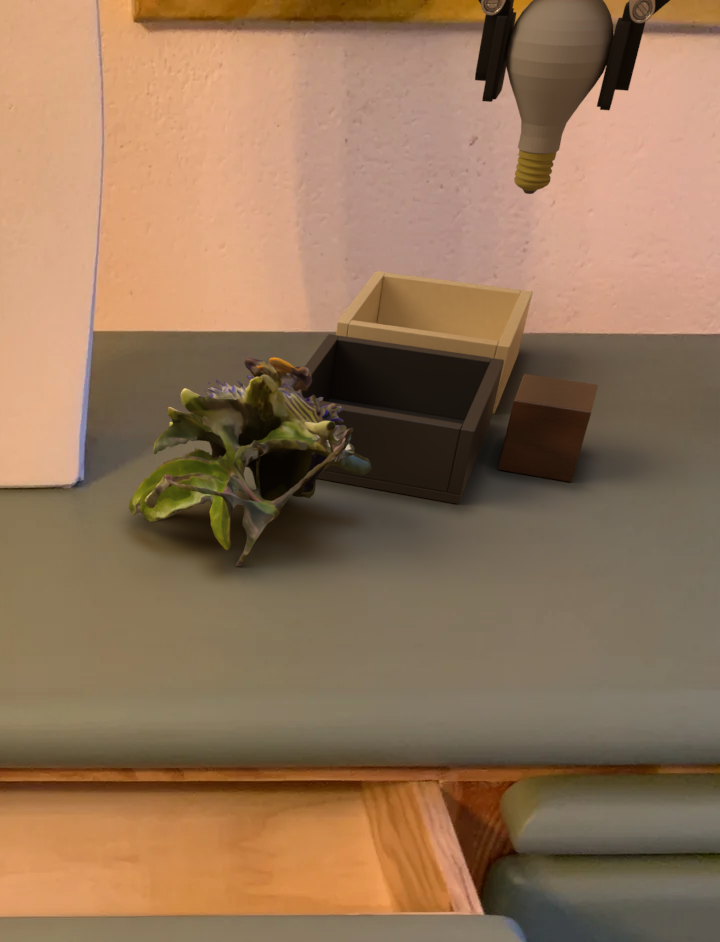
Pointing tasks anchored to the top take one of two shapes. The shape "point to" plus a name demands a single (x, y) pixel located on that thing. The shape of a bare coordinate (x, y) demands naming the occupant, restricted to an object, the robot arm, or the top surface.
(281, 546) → the top surface
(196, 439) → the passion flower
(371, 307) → the cream bin
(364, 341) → the charcoal bin
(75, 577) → the top surface
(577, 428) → the walnut block
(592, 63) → the light bulb
